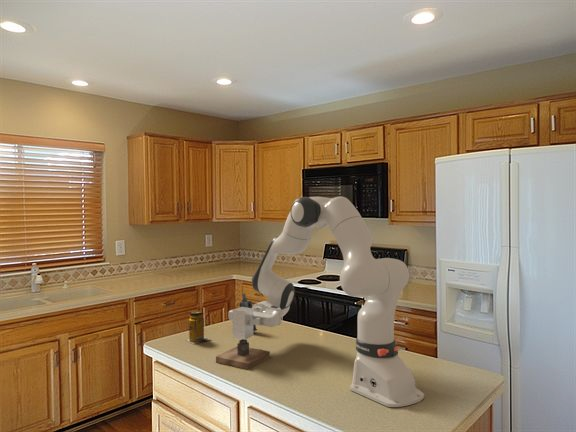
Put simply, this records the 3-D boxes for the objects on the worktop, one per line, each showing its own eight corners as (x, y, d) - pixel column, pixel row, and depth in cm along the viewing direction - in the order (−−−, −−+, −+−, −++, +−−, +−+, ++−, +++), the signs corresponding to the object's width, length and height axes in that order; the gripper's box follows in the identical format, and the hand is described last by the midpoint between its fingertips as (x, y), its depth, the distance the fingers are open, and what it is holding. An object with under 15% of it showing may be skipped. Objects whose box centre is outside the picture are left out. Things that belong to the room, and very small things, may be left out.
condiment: (185, 340, 174) (185, 311, 174) (204, 336, 179) (203, 308, 179) (192, 344, 168) (192, 315, 168) (211, 340, 174) (211, 311, 173)
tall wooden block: (253, 335, 152) (253, 308, 152) (244, 339, 148) (244, 311, 147) (241, 333, 155) (241, 306, 155) (232, 337, 150) (232, 309, 150)
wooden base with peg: (269, 356, 154) (269, 337, 154) (248, 369, 142) (248, 349, 142) (239, 350, 161) (238, 332, 161) (215, 362, 148) (215, 342, 148)
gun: (232, 296, 196) (251, 292, 186) (238, 332, 193) (257, 330, 183) (227, 296, 195) (246, 292, 184) (233, 333, 192) (252, 331, 181)
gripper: (240, 302, 167) (218, 309, 155) (284, 308, 157) (265, 316, 145) (240, 318, 168) (218, 326, 156) (284, 325, 158) (265, 334, 145)
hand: (241, 322), depth 150 cm, fingers closed on tall wooden block, 5 cm apart
